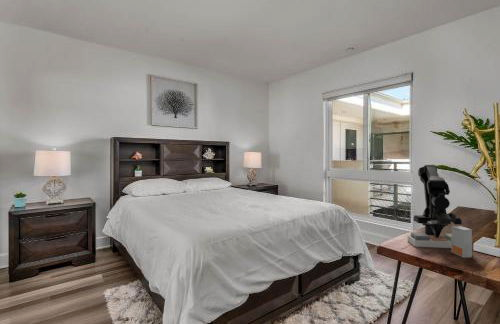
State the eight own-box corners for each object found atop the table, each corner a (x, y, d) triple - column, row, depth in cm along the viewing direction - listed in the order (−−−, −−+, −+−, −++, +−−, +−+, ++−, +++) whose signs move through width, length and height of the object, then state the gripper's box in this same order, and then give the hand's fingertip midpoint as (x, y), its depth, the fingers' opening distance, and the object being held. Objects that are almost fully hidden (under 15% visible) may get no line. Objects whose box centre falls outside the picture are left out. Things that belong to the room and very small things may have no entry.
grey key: (410, 237, 130) (410, 232, 130) (424, 237, 129) (424, 232, 129) (416, 241, 124) (416, 235, 124) (430, 241, 123) (430, 236, 123)
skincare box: (450, 252, 115) (450, 225, 114) (459, 252, 115) (459, 225, 115) (463, 257, 109) (463, 229, 108) (472, 257, 109) (472, 229, 109)
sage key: (443, 238, 127) (443, 233, 127) (457, 239, 126) (457, 233, 126) (450, 242, 121) (450, 237, 121) (465, 243, 120) (465, 237, 120)
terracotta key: (427, 240, 128) (427, 235, 128) (440, 240, 127) (440, 235, 127) (433, 244, 122) (433, 238, 122) (447, 244, 121) (447, 239, 121)
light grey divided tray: (407, 240, 131) (407, 235, 131) (458, 243, 127) (458, 237, 127) (414, 246, 123) (414, 240, 123) (469, 248, 119) (469, 242, 119)
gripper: (423, 208, 118) (423, 241, 119) (469, 209, 115) (469, 243, 115) (412, 203, 129) (413, 234, 130) (454, 204, 126) (454, 236, 126)
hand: (437, 237), depth 125 cm, fingers closed, pressing on terracotta key
